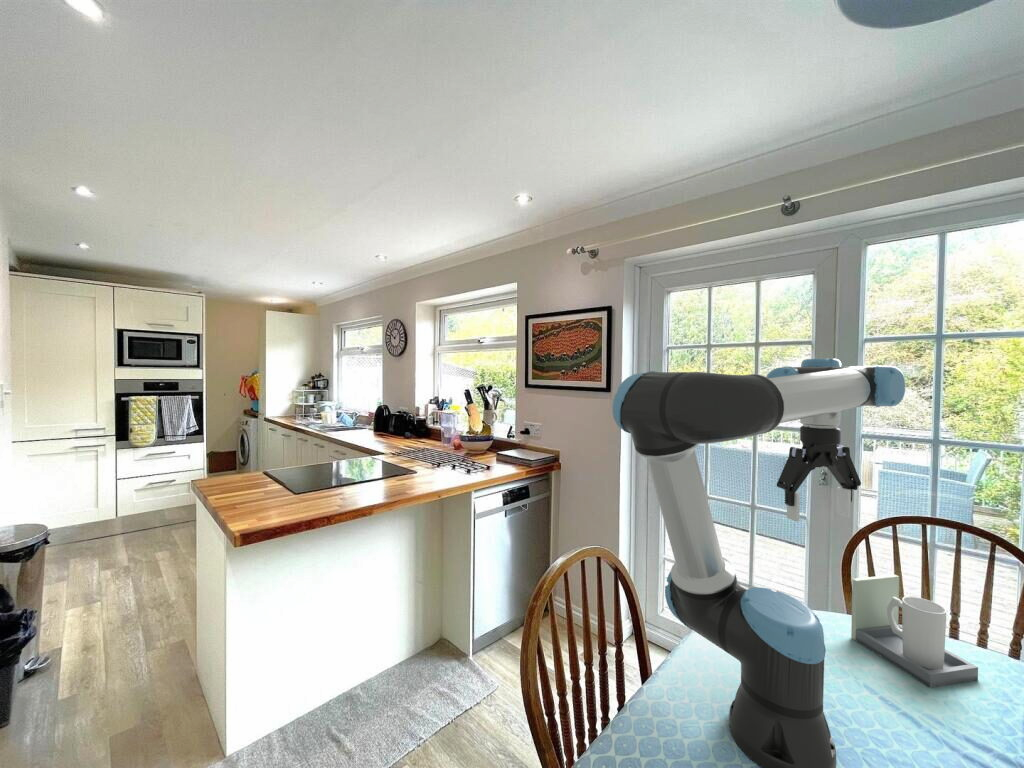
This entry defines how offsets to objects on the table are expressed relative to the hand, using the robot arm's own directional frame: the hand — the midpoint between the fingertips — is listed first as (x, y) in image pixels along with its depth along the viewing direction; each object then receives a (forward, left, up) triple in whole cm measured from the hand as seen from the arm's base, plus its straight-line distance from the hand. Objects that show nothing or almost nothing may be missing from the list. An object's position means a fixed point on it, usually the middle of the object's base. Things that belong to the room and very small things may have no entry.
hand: (818, 518), depth 97 cm
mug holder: (+15, -9, -29) cm, 34 cm away
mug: (+15, -9, -28) cm, 33 cm away
